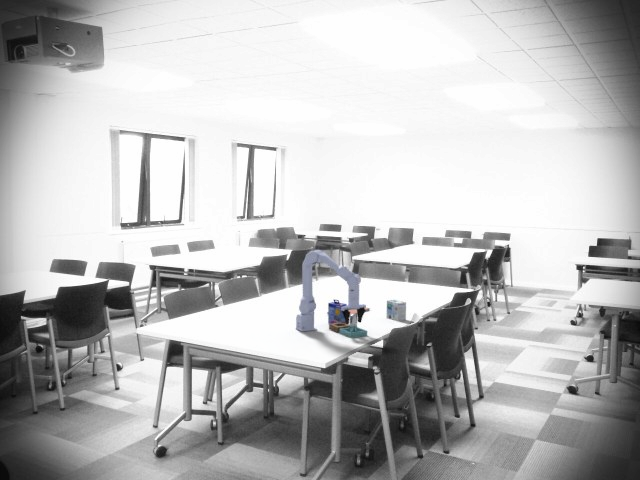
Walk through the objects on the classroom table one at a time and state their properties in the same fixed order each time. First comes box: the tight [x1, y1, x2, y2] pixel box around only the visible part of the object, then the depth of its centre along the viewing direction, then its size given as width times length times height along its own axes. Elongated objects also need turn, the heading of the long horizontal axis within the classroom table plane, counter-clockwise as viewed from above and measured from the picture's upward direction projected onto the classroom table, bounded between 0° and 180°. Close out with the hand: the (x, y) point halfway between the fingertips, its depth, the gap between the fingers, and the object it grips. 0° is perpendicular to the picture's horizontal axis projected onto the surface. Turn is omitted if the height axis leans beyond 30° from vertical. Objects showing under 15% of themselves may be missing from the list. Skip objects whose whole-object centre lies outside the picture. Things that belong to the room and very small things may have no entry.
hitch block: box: [328, 322, 350, 334], centre depth 308 cm, size 9×9×3 cm
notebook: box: [326, 307, 371, 318], centre depth 358 cm, size 27×17×2 cm, turn 148°
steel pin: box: [349, 314, 358, 333], centre depth 299 cm, size 4×4×10 cm
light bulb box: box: [386, 299, 407, 322], centre depth 338 cm, size 11×7×11 cm, turn 33°
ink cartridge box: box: [327, 299, 348, 325], centre depth 322 cm, size 10×6×14 cm, turn 51°
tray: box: [339, 326, 368, 339], centre depth 299 cm, size 11×11×2 cm
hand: (353, 322), depth 299 cm, fingers open, 7 cm apart
